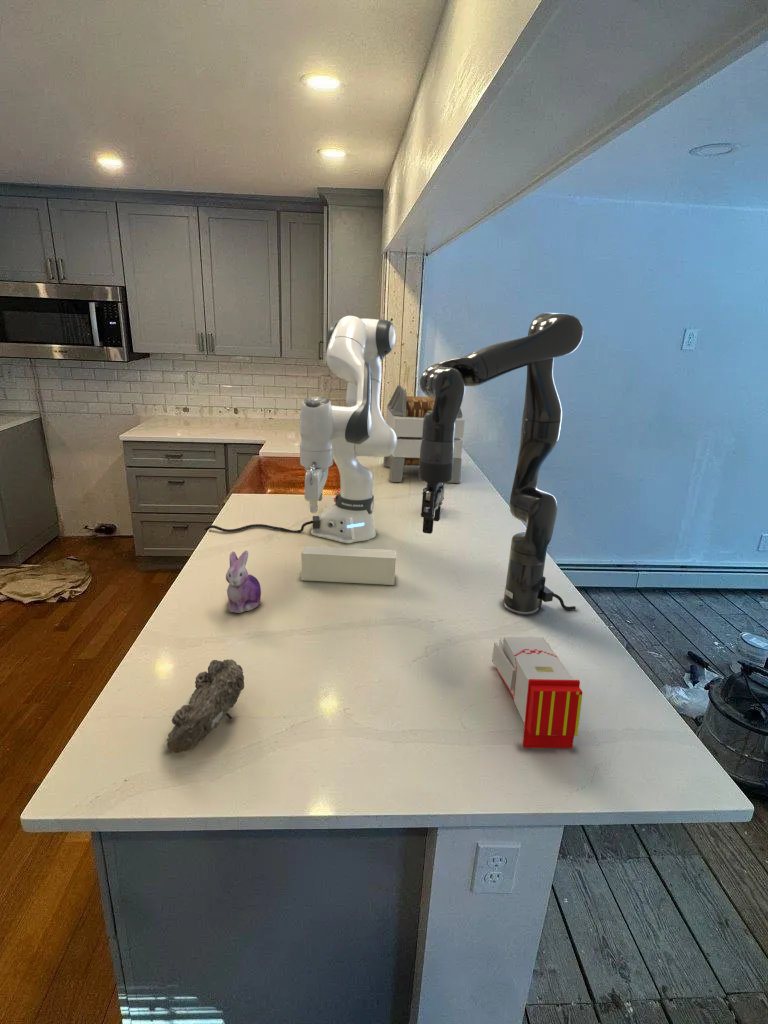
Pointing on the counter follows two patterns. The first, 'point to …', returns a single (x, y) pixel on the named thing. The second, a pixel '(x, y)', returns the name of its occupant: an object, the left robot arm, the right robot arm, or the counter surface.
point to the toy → (539, 691)
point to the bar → (348, 565)
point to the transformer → (415, 433)
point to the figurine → (241, 585)
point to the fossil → (206, 705)
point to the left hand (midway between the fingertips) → (316, 506)
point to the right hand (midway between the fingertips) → (431, 526)
